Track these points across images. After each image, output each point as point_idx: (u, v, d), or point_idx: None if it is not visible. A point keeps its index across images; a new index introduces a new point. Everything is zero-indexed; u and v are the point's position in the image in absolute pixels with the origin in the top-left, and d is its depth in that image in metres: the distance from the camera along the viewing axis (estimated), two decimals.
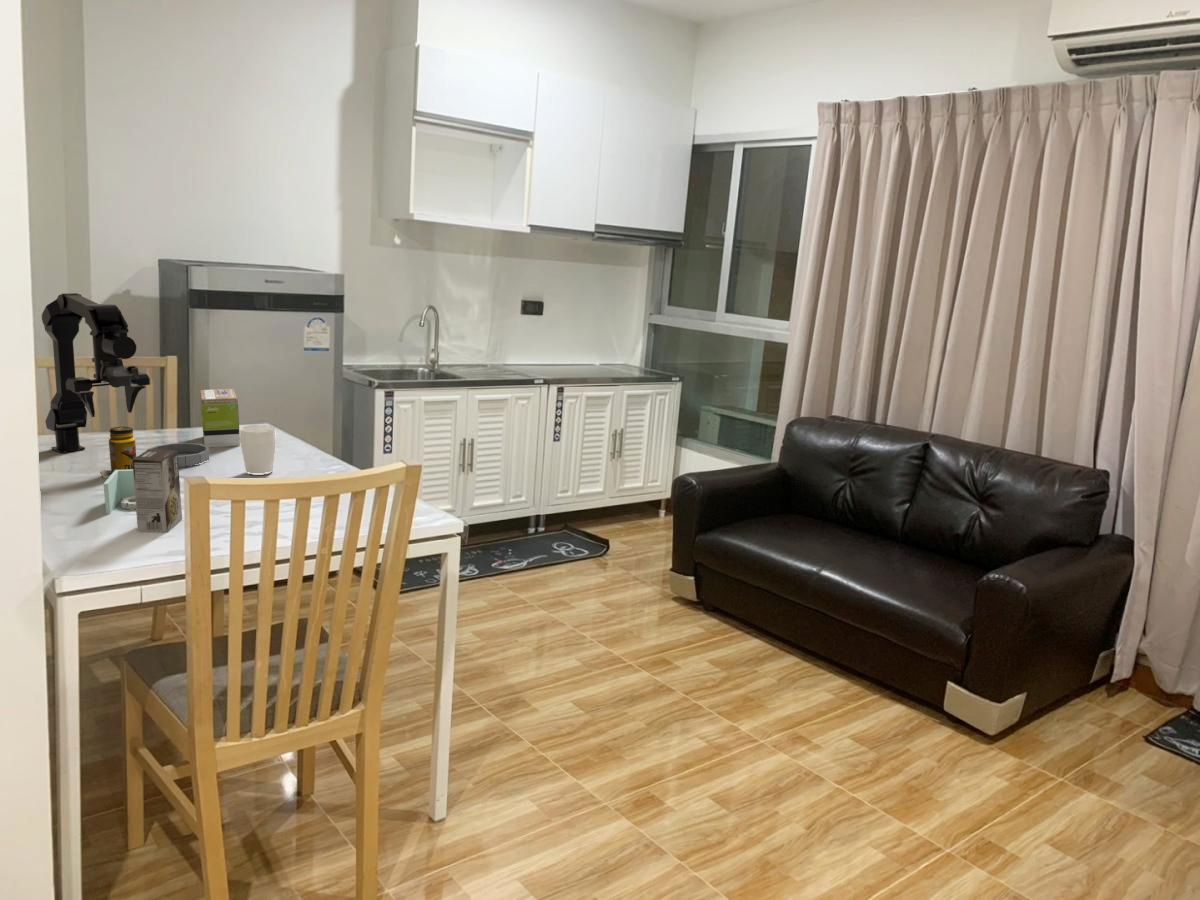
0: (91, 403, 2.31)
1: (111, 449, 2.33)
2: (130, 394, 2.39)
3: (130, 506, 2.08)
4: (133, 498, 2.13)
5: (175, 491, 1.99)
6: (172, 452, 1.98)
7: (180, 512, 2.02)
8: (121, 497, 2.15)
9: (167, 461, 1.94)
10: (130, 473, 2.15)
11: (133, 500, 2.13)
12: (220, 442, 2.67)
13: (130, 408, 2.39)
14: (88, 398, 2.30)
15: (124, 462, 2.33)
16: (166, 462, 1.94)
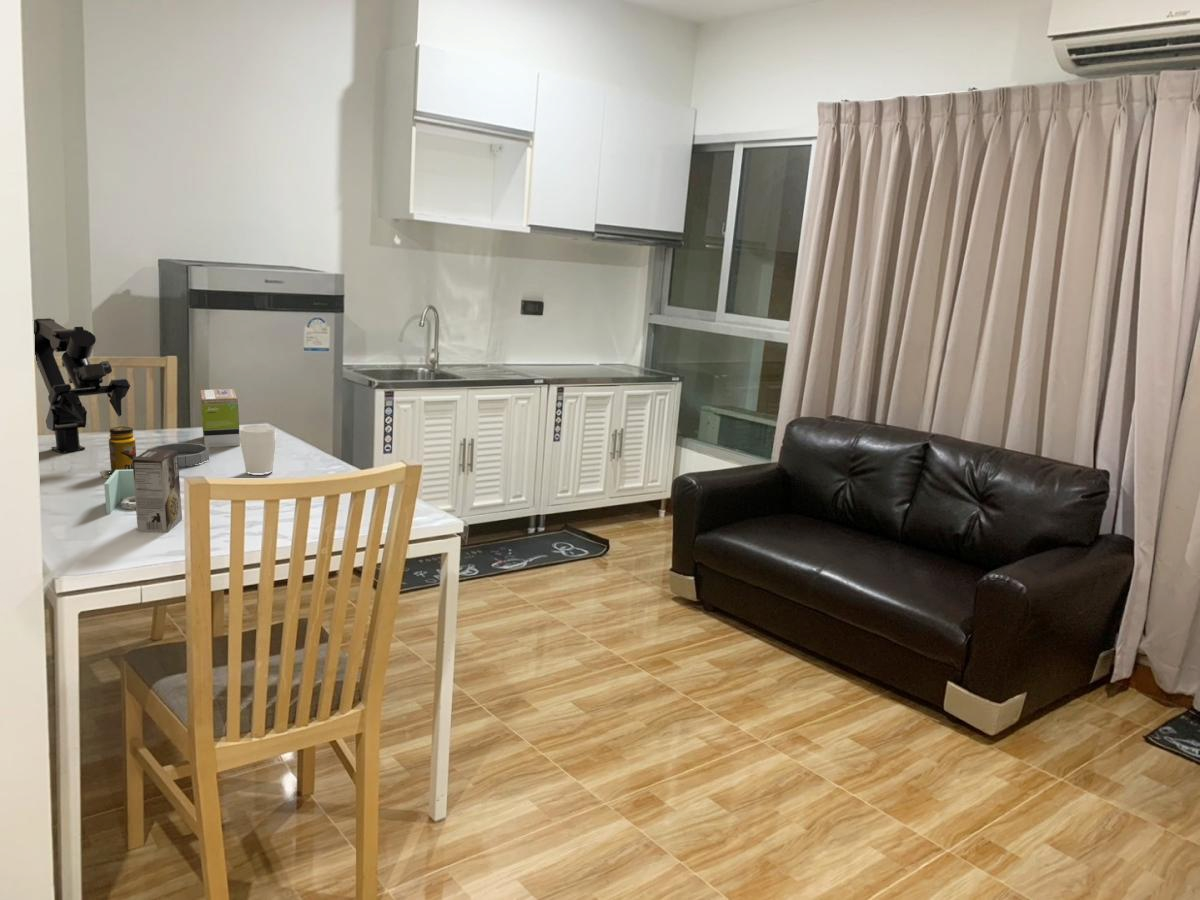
0: (76, 405, 2.34)
1: (111, 449, 2.33)
2: (114, 399, 2.42)
3: (130, 506, 2.09)
4: (133, 498, 2.13)
5: (175, 491, 1.99)
6: (172, 452, 1.98)
7: (180, 512, 2.02)
8: (121, 497, 2.16)
9: (167, 461, 1.94)
10: (131, 473, 2.15)
11: (133, 500, 2.13)
12: (220, 442, 2.67)
13: (119, 410, 2.41)
14: (72, 401, 2.34)
15: (124, 462, 2.33)
16: (166, 462, 1.94)
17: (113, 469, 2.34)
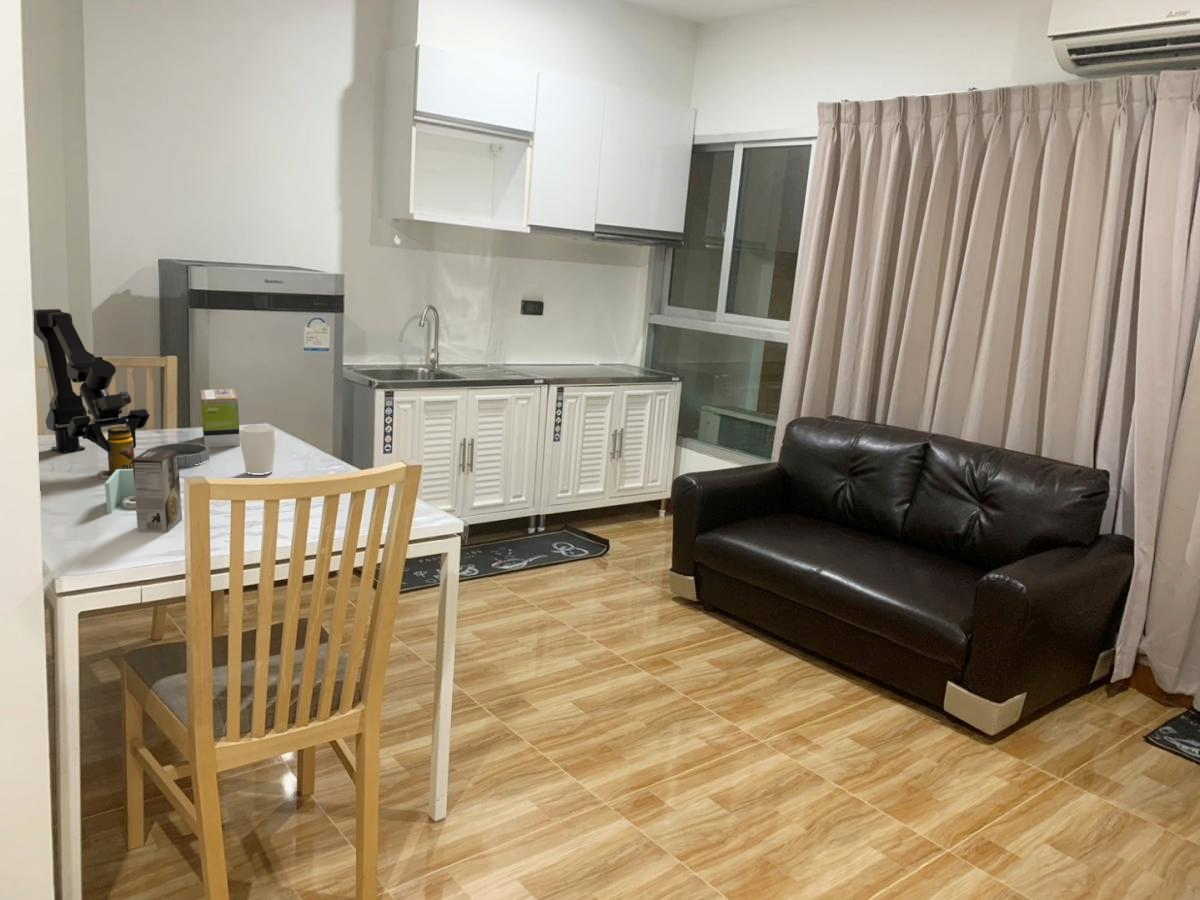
0: (102, 436, 2.31)
1: None
2: None
3: (131, 505, 2.09)
4: (134, 497, 2.13)
5: (175, 491, 1.99)
6: (172, 452, 1.98)
7: (180, 512, 2.02)
8: (122, 496, 2.16)
9: (167, 461, 1.94)
10: (131, 473, 2.15)
11: (134, 499, 2.14)
12: (220, 442, 2.67)
13: (133, 442, 2.36)
14: (97, 432, 2.31)
15: (123, 462, 2.33)
16: (166, 462, 1.94)
17: (111, 469, 2.33)
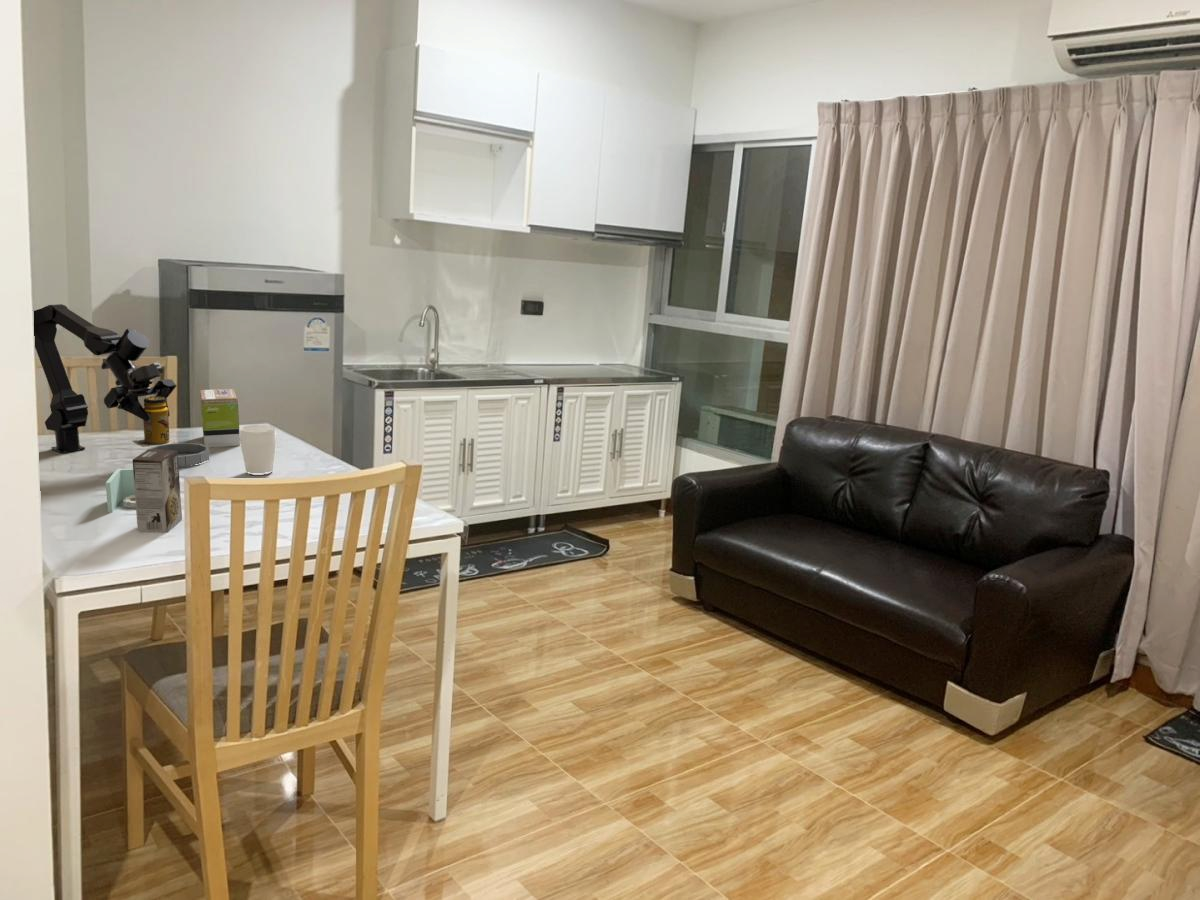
0: (140, 406, 2.37)
1: None
2: None
3: (132, 505, 2.09)
4: None
5: (175, 491, 1.99)
6: (172, 452, 1.98)
7: (180, 512, 2.02)
8: (123, 496, 2.16)
9: (167, 461, 1.94)
10: (132, 472, 2.16)
11: None
12: (220, 442, 2.67)
13: None
14: (135, 402, 2.37)
15: (161, 431, 2.40)
16: (166, 462, 1.94)
17: (149, 438, 2.40)
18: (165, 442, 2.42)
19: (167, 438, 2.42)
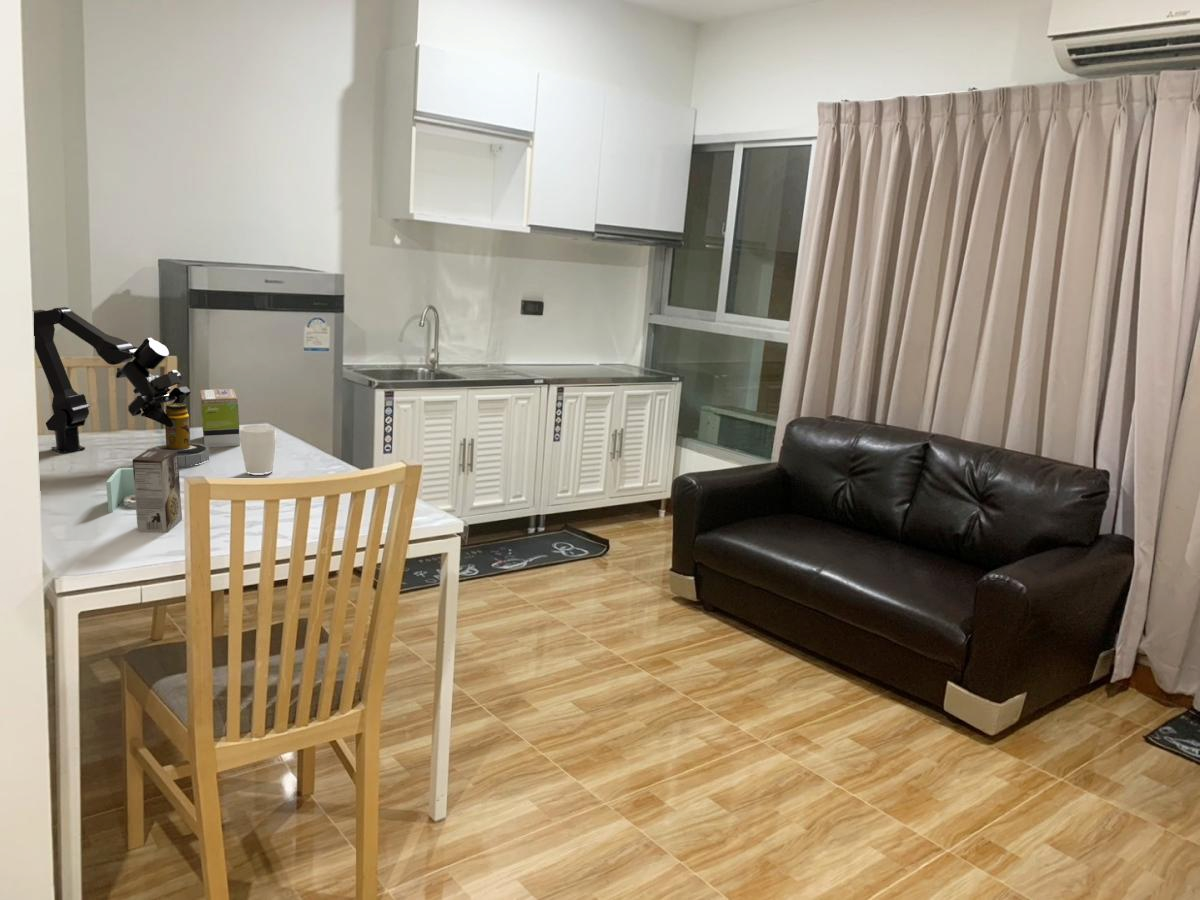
0: (164, 413, 2.44)
1: None
2: None
3: (132, 504, 2.10)
4: None
5: (175, 491, 1.99)
6: (172, 452, 1.98)
7: (180, 512, 2.02)
8: (124, 495, 2.17)
9: (167, 461, 1.94)
10: None
11: None
12: (220, 442, 2.67)
13: None
14: (159, 409, 2.44)
15: (184, 436, 2.48)
16: (166, 462, 1.94)
17: (172, 444, 2.47)
18: (187, 447, 2.50)
19: (189, 443, 2.50)
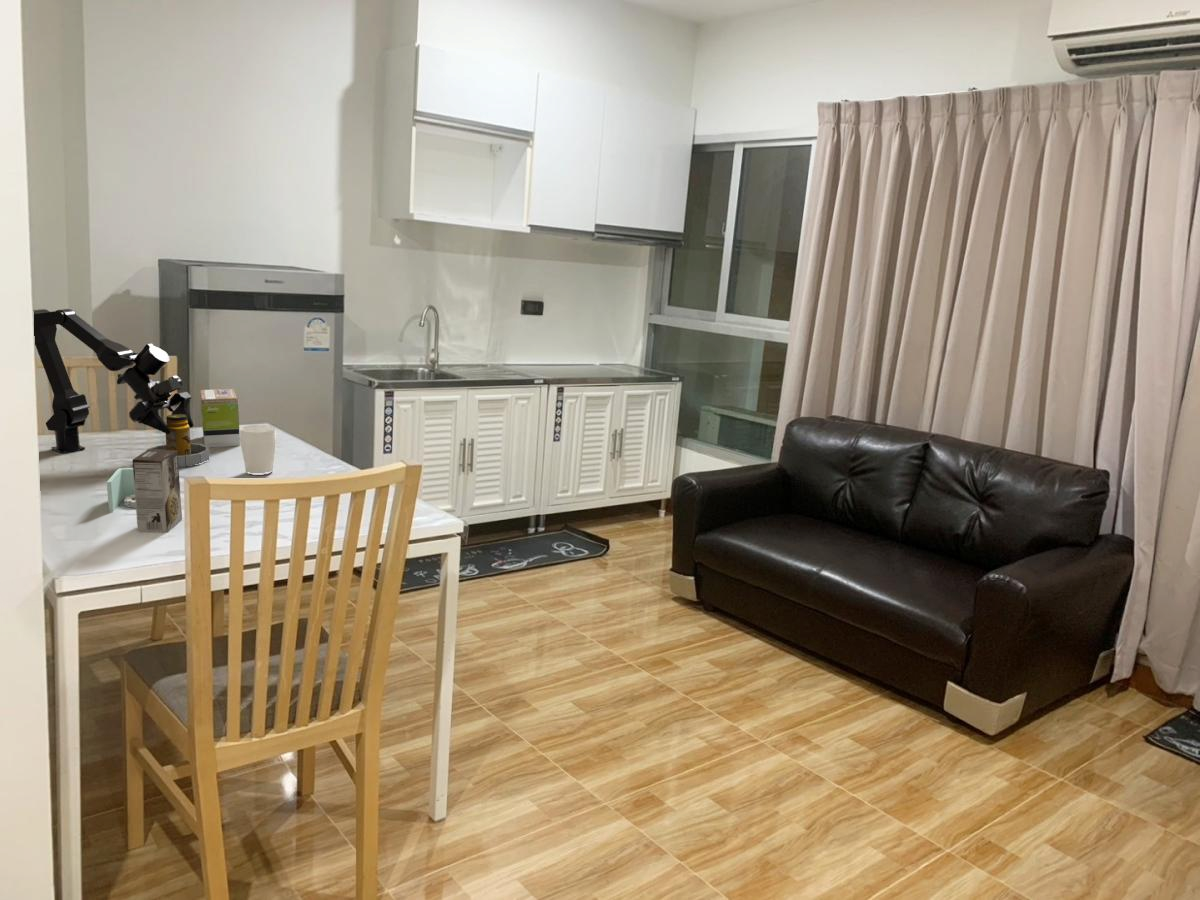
0: (161, 420, 2.43)
1: (171, 436, 2.46)
2: (182, 411, 2.53)
3: (133, 504, 2.10)
4: None
5: (175, 491, 1.99)
6: (172, 452, 1.98)
7: (180, 512, 2.02)
8: (124, 495, 2.17)
9: (167, 461, 1.94)
10: None
11: None
12: (220, 442, 2.67)
13: (191, 421, 2.53)
14: (156, 415, 2.43)
15: (185, 447, 2.49)
16: (166, 462, 1.94)
17: None
18: None
19: (190, 454, 2.51)
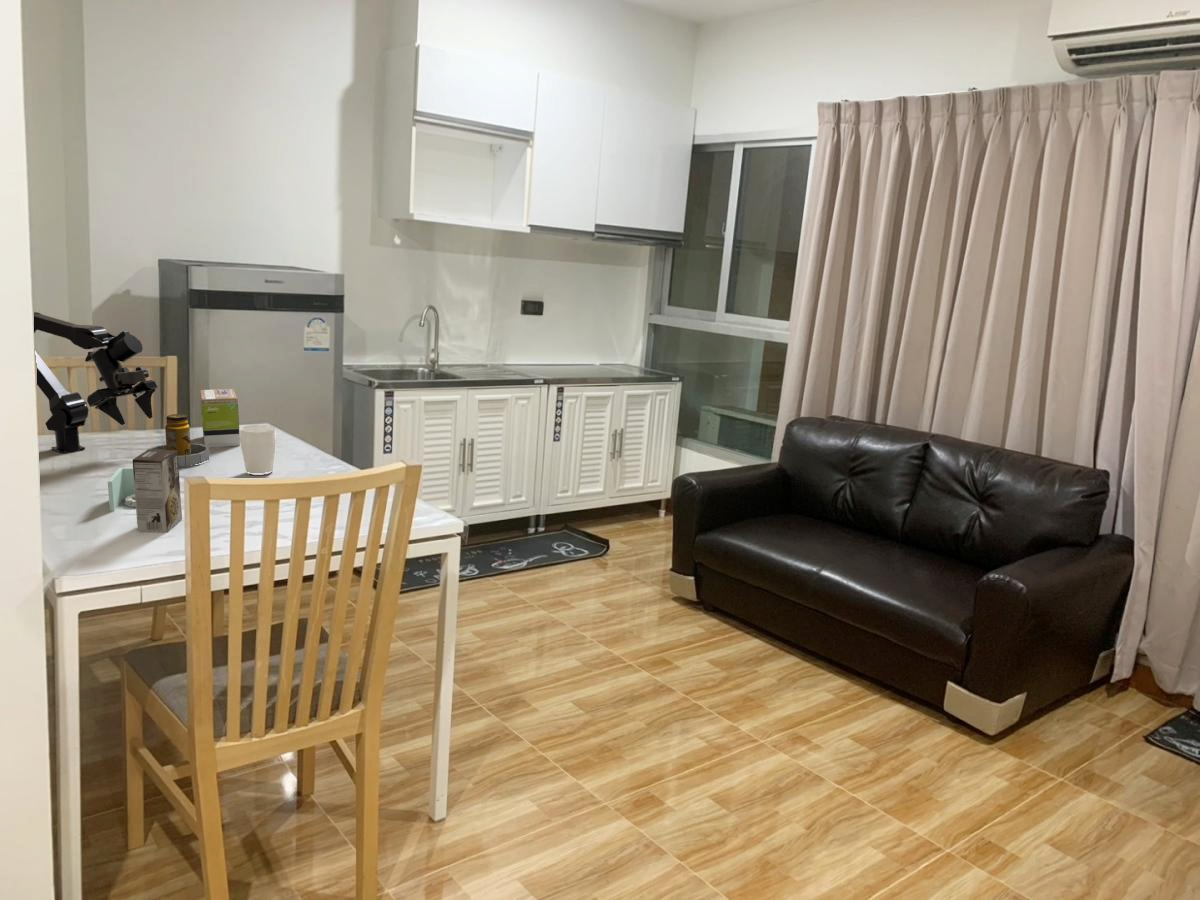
0: (117, 410, 2.44)
1: (171, 436, 2.46)
2: (145, 401, 2.53)
3: (134, 504, 2.10)
4: None
5: (175, 491, 1.99)
6: (172, 452, 1.98)
7: (180, 512, 2.02)
8: (125, 495, 2.17)
9: (167, 461, 1.94)
10: None
11: None
12: (220, 442, 2.67)
13: (150, 413, 2.53)
14: (113, 405, 2.43)
15: (185, 447, 2.49)
16: (166, 462, 1.94)
17: None
18: None
19: (190, 454, 2.51)
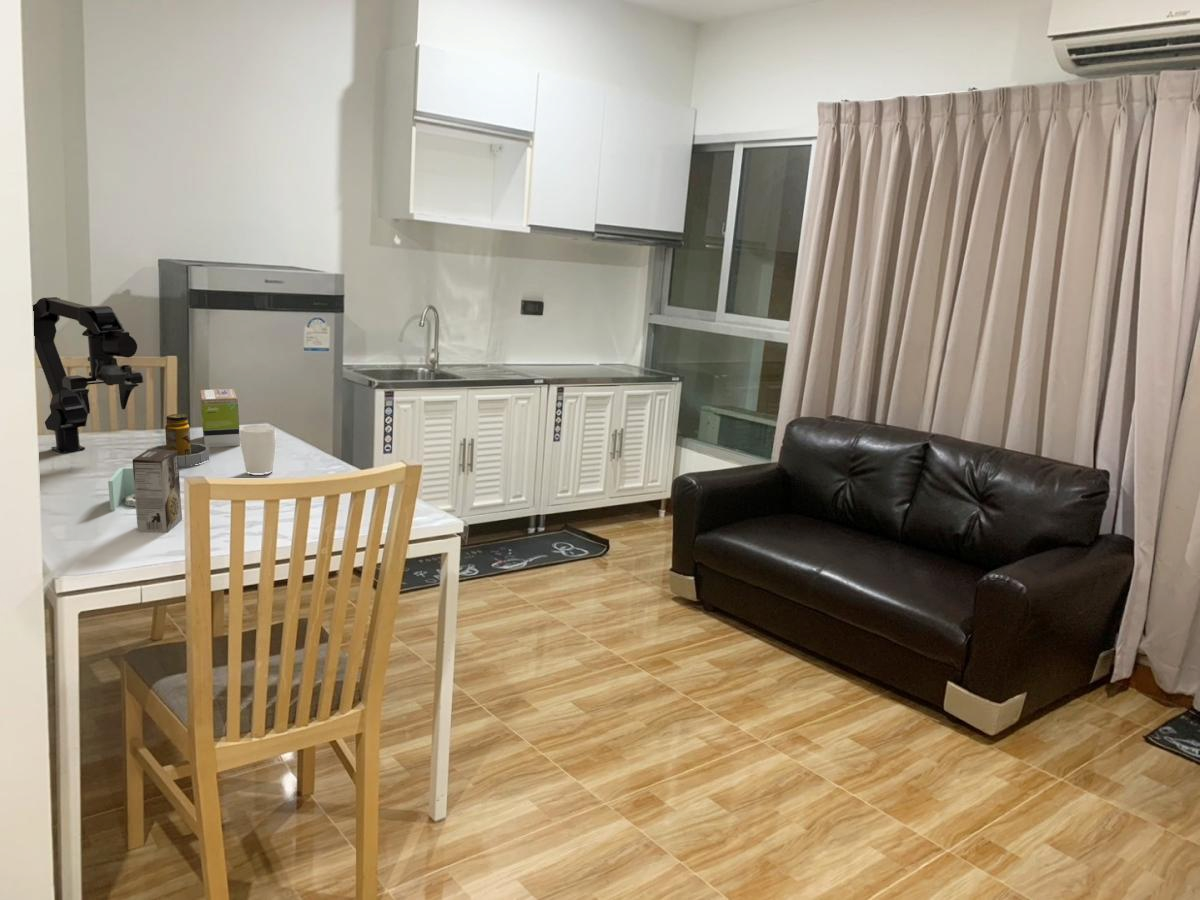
0: (86, 400, 2.41)
1: (171, 436, 2.46)
2: (124, 392, 2.49)
3: (134, 503, 2.10)
4: None
5: (175, 491, 1.99)
6: (172, 452, 1.98)
7: (180, 512, 2.02)
8: (126, 494, 2.18)
9: (167, 461, 1.94)
10: None
11: None
12: (220, 442, 2.67)
13: (124, 405, 2.50)
14: (83, 395, 2.40)
15: (185, 447, 2.49)
16: (166, 462, 1.94)
17: None
18: None
19: (190, 454, 2.51)
